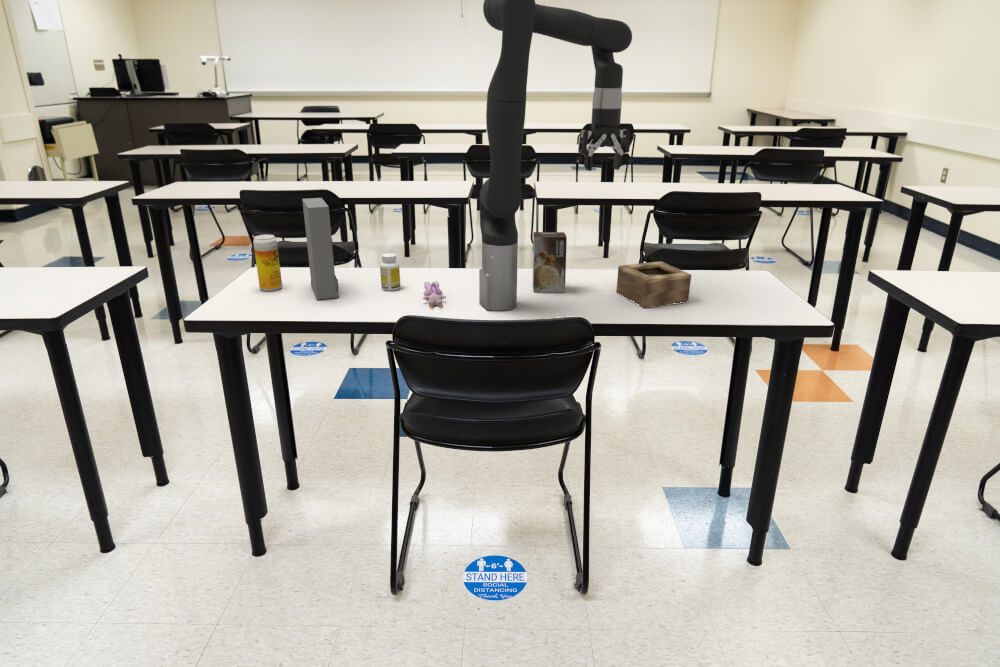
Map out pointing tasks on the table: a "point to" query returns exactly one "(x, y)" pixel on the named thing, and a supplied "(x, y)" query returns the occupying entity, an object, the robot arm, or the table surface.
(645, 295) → the open wooden box
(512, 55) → the robot arm
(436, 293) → the rabbit figure
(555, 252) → the coffee box
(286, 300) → the table surface
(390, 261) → the supplement bottle
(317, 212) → the tall notched grey box
